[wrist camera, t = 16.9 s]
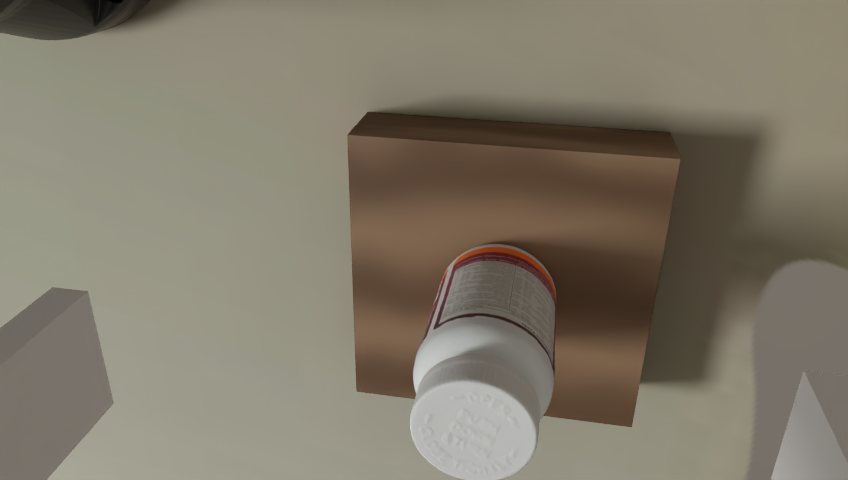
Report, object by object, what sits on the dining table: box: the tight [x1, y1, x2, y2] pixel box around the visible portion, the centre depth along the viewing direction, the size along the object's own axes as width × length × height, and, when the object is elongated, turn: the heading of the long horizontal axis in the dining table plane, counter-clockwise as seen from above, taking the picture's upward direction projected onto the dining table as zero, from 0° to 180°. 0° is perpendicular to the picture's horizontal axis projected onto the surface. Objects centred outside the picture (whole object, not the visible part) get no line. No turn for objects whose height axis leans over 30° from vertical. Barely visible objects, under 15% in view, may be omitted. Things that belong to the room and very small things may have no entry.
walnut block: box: [347, 112, 681, 427], centre depth 40 cm, size 16×16×4 cm
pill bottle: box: [410, 244, 556, 480], centre depth 33 cm, size 6×6×11 cm
